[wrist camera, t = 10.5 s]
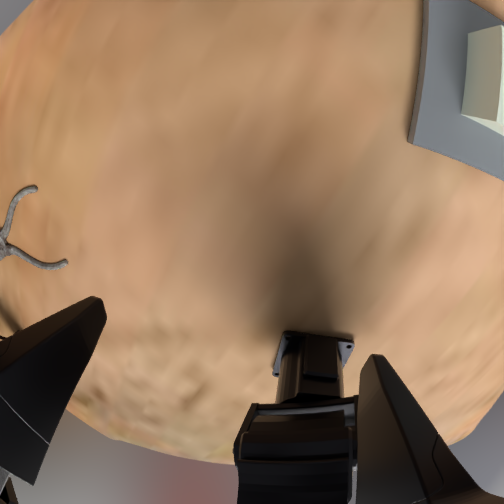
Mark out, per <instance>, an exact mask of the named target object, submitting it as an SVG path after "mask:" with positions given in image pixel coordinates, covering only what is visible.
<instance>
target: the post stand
mask: <svg viewBox="0 0 504 504" xmlns="http://www.w3.org/2000/svg"><path fill="white" fill-rule="evenodd" d="M499 25H502V26H504V22H502V21H501V20H500V19H498V18H497V17H495V16H494V15H492V14H490V13H489V12H487V11H486V10H484V9H483V8H481V7H479V6H478V5H476V4H474V3H472V2H471V1H469V0H423V31H422V46H421V57H420V67H419V75H418V83H417V90H416V97H415V103H414V109H413V115H412V121H411V126H410V131H409V136H408V141H407V142H409V143H411V144H414V145H417V146H420V147H423V148H425V149H428V150H431V151H434V152H437V153H440V154H442V155H445V156H448V157H450V158H453V159H455V160H458V161H460V162H463V163H465V164H468V165H470V166H472V167H475V168H477V169H479V170H481V171H484V172H486V173H488V174H490V175H492V176H494V177H497V178H499V179H501V180H503V181H504V136H503V135H501V134H499V133H497V132H496V131H494V130H492V129H490V128H488V127H486V126H484V125H482V124H480V123H478V122H476V121H474V120H472V119H470V118H468V117H466V116H464V115H461V111H462V104H463V97H464V89H465V79H466V68H467V50H468V33H471V32H475V31H479V30H482V29H486V28H490V27H494V26H499Z"/></svg>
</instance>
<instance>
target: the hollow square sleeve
mask: <svg viewBox="0 0 504 504" xmlns="http://www.w3.org/2000/svg"><path fill="white" fill-rule="evenodd" d="M461 115H464V116H466V117H468V118H470V119H472V120H474V121H476V122H478V123H480V124H482V125H484V126H486V127H488V128H490V129H492V130H494V131H496V132H497V133H499V134H501V135H503V136H504V26H502V25H499V26H494V27H490V28H486V29H482V30H479V31H475V32H471V33H468V50H467V68H466V79H465V89H464V97H463V104H462V111H461Z"/></svg>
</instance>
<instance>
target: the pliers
mask: <svg viewBox="0 0 504 504" xmlns="http://www.w3.org/2000/svg"><path fill="white" fill-rule="evenodd" d="M37 191H38V188H37V187H36V186H32V187H28V188H25V189H23V190H22V191H20V192H19V193H18V194H17V195H16V196H15V197H14V198H13V200H12V202H11V204H10V207H9V210H8V214H7V218H6V221H5V224H4V227H3V228H2V230H0V261H1V260H2V259H3V258H4V257H6V256H10V255H16V256H19V257H20V258H22V259H24V260H26V261H27V262H29V263H31V264H33V265H34V266H37V267H39V268H42V269H46V270H57V269H61V268H63V267H65V266H66V265H67V264H68V261H67V260H63V261H61V262H59V263H56V264H46V263H42V262H40V261H38V260H36V259H34V258H32V257H31V256H29V255H28V254H26V253H25V252H23V251H22V250H20V249H18V248H16V247H14V246H12V245H9V244H8V243H7V241H6V238H7V236H8V234H9V231H10V228H11V223H12V218H13V214H14V210H15V207H16V205H17V203H18V201H19V200H20V199H21V198H22V197H23V196H25V195H27V194H29V193H34V192H37Z"/></svg>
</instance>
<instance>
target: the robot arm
mask: <svg viewBox="0 0 504 504" xmlns="http://www.w3.org/2000/svg"><path fill="white" fill-rule="evenodd" d="M106 320H107V315H106V311H105V307H104V304H103V301H102V299H101V298H98V297H95V296H90V297H88V298H86V299H84V300H81V301H79V302H77V303H75V304H73V305H71V306H69V307H67V308H65V309H63V310H61V311H59V312H57V313H55V314H53V315H51V316H49V317H47V318H45V319H43V320H41V321H39V322H37V323H35V324H33V325H31V326H29V327H27V328H25V329H23V330H21V331H20V332H18V333H16V334H14V335H13V336H10V337H8V338H6V339H4V340H2V341H0V504H18V501H17V498H16V494H15V491H14V488H13V485H12V481H11V478H10V477H9V475H10V473H11V474H13V475H14V476H16V477H18V478H20V479H21V480H23V481H25V482H27V483H28V484H30V485H32V486H33V485H34V483H35V481H36V478H37V475H38V472H39V470H40V467H41V465H42V462H43V459H44V457H45V454H46V452H47V450H48V447H49V444H50V442H51V440H52V437H53V435H54V433H55V430H56V428H57V426H58V423H59V421H60V419H61V417H62V415H63V413H64V410H65V408H66V406H67V404H68V402H69V400H70V398H71V396H72V394H73V392H74V390H75V388H76V386H77V384H78V382H79V380H80V378H81V376H82V374H83V372H84V370H85V368H86V366H87V364H88V362H89V360H90V358H91V356H92V354H93V352H94V349H95V347H96V345H97V342H98V340H99V337H100V335H101V333H102V330H103V328H104V326H105V323H106ZM287 336H290V337H287ZM353 349H354V341H353V340H348V339H341V338H333V337H326V336H319V335H312V334H306V333H300V332H293V331H285V332H284V333H283V335H282V339H281V343H280V347H279V350H278V354H277V357H276V361H275V365H274V368H273V373H272V375H273V376H275V377H279V379H278V387H277V394H276V401H275V404H259V403H252V404H251V407H250V409H249V411H248V412H247V415H246V417H245V419H244V422H243V424H242V426H241V428H240V430H239V433H238V435H237V437H236V439H235V441H234V448H233V454H234V462H235V466H236V468H237V470H238V476H239V487H238V498H237V504H348V502H349V501H350V500H351V497H352V485H353V471H355V470H356V471H357V490H356V504H504V498H503V497H499V496H496V495H493V494H490V493H488V492H485V491H484V490H483V489H481V488H480V487H479V486H478V485H477V484H476V482H475V481H474V480H473V479H472V477H471V476H470V475H469V474H468V472H467V471H466V470H465V469H464V467H463V466H462V465H461V464H460V462H459V461H458V460H457V459H456V457H455V456H454V455H453V453H452V452H451V451H450V449H449V448H448V446H447V445H446V443H445V442H444V440H443V439H442V437H441V436H440V434H438V432H437V430H436V429H435V427H434V426H433V424H432V423H431V421H430V420H429V418H428V417H427V415H426V414H425V412H424V411H423V410H422V408H421V407H420V405H419V404H418V402H417V401H416V400H415V398H414V397H413V395H412V394H411V392H410V391H409V390H408V388H407V387H406V385H405V384H404V383H403V381H402V380H401V378H400V377H399V376H398V374H397V373H396V372H395V370H394V369H393V367H392V366H391V365H390V363H389V362H388V361H387V359H386V358H385V357H384V356H383V355H379V354H372V355H370V356H369V358H368V360H367V361H366V363H365V365H364V366H363V368H362V370H361V373H360V385H359V395H353V397H346V398H344V385H343V367H344V366H345V364H346V362H347V360H348V358H349V356H350V354H351V353H352V351H353Z"/></svg>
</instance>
